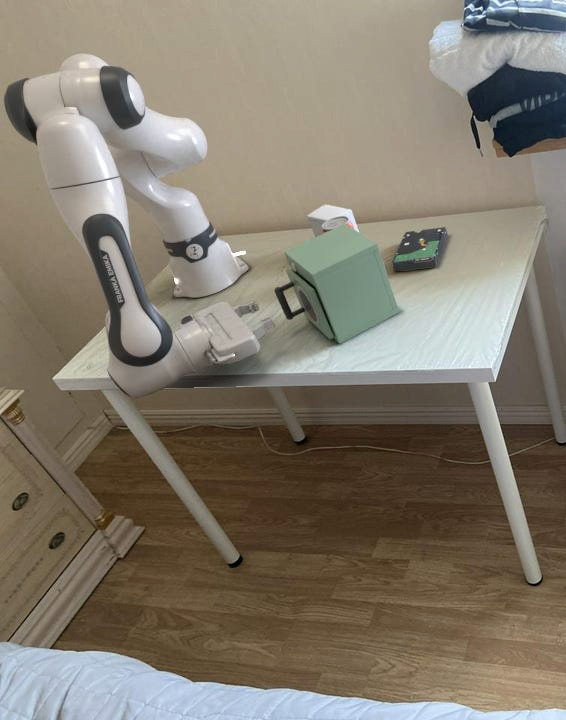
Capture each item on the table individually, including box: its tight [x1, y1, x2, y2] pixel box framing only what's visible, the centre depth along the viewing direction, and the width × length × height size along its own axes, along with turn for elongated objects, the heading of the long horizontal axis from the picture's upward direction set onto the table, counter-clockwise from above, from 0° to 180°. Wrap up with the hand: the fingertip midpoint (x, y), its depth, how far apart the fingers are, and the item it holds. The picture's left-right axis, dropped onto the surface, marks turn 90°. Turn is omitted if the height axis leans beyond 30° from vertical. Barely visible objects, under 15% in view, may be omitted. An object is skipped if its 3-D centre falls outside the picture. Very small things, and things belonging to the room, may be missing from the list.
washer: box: [283, 224, 400, 344], centre depth 142 cm, size 14×15×16 cm
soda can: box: [322, 216, 355, 234], centre depth 158 cm, size 7×7×13 cm
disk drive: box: [391, 226, 449, 272], centre depth 161 cm, size 10×3×15 cm
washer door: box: [274, 268, 334, 340], centre depth 139 cm, size 5×13×11 cm, turn 34°
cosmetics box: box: [306, 203, 360, 238], centre depth 170 cm, size 10×6×10 cm, turn 50°
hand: (264, 313), depth 140 cm, fingers open, 8 cm apart
